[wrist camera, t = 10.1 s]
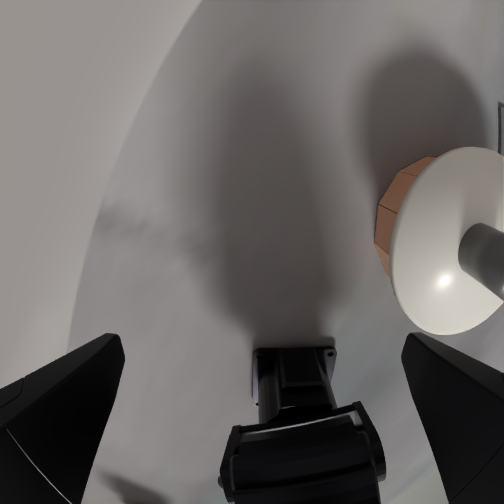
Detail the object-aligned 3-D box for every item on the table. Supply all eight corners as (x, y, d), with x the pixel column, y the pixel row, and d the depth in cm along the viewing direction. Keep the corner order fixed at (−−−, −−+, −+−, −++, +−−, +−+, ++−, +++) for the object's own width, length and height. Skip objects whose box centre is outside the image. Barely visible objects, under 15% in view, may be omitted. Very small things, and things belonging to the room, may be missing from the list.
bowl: (467, 285, 21) (497, 309, 17) (367, 290, 21) (390, 322, 17) (486, 168, 18) (524, 176, 14) (381, 149, 18) (414, 152, 14)
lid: (500, 319, 17) (535, 351, 13) (372, 336, 17) (401, 388, 13) (532, 164, 13) (580, 175, 9) (398, 130, 13) (452, 129, 9)
